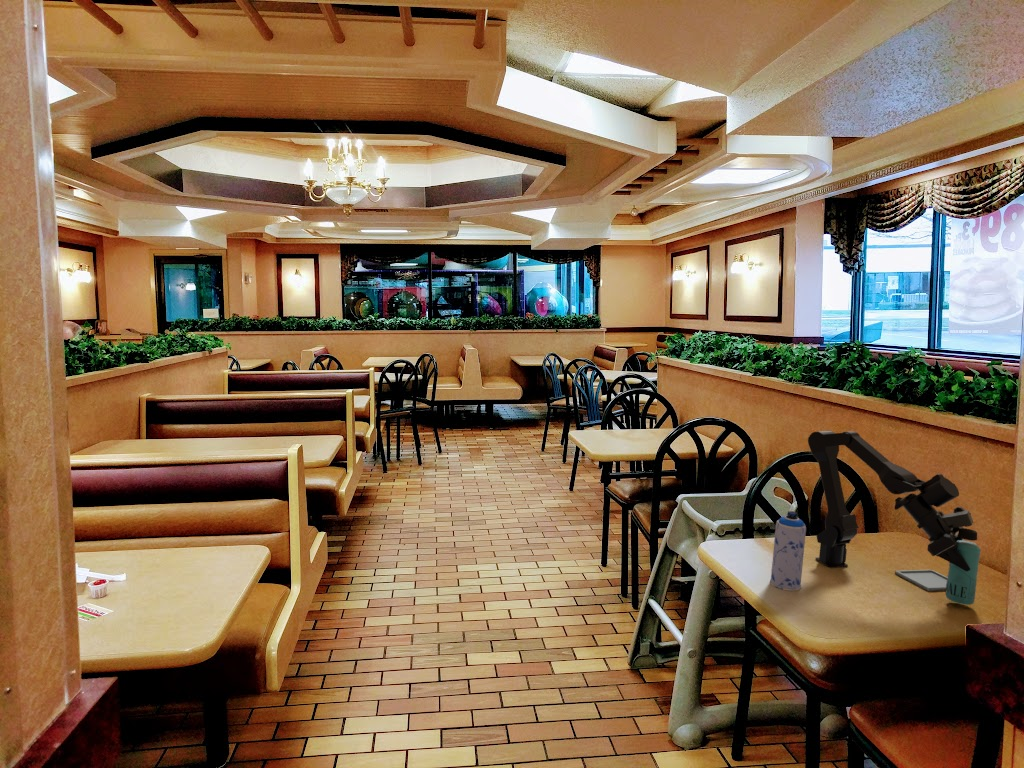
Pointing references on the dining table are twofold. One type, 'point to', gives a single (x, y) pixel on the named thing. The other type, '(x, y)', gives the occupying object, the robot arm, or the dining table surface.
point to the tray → (925, 579)
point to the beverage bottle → (960, 580)
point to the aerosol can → (788, 552)
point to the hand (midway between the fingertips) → (970, 566)
